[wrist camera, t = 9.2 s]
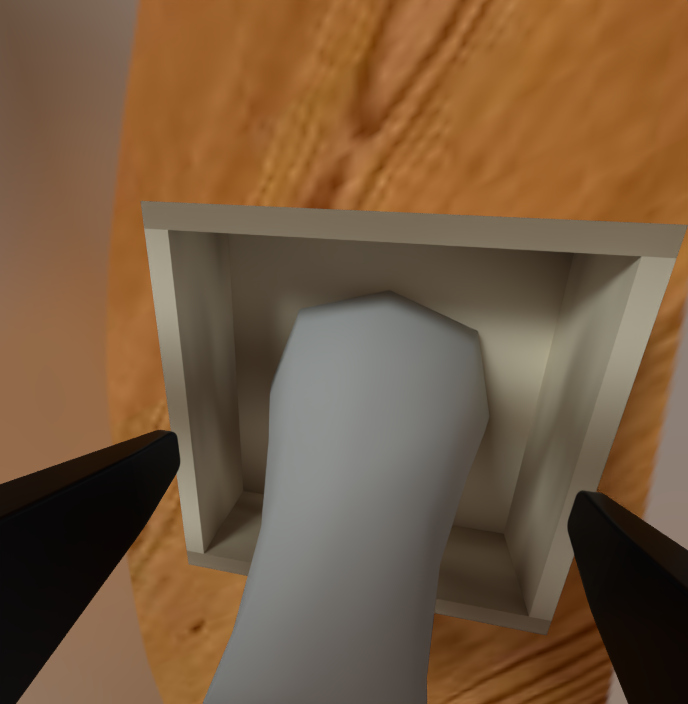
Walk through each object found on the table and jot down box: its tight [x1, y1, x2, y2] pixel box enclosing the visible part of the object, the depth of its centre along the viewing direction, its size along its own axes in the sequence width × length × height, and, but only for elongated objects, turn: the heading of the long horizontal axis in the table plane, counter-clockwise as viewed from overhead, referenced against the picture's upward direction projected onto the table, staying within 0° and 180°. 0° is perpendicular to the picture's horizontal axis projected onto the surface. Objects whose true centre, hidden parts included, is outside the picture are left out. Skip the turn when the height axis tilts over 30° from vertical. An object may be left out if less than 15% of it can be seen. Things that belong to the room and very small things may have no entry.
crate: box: [141, 201, 688, 635], centre depth 11 cm, size 11×11×4 cm
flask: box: [203, 290, 490, 704], centre depth 8 cm, size 7×7×10 cm
